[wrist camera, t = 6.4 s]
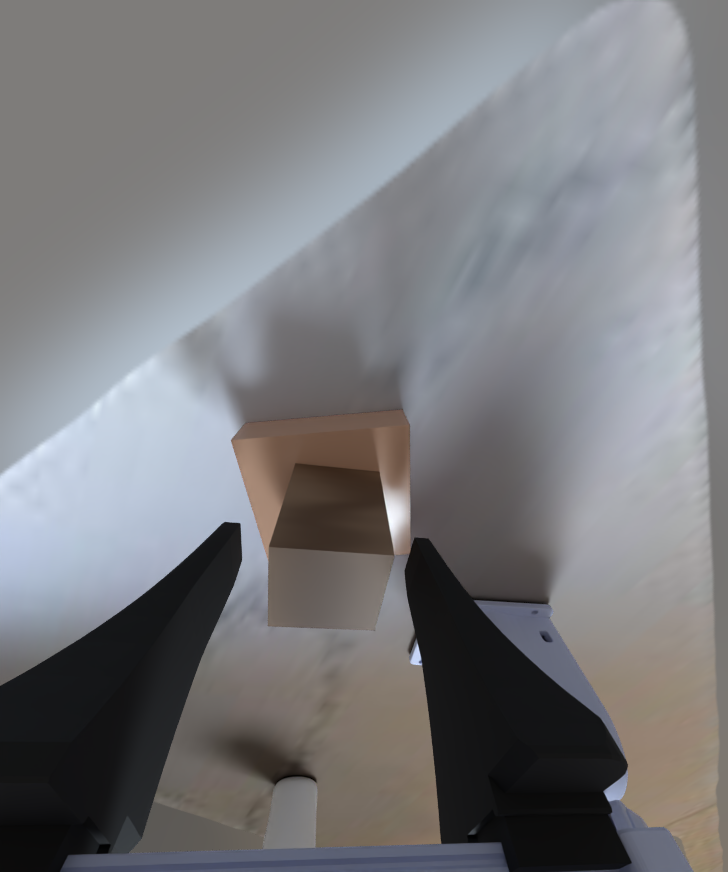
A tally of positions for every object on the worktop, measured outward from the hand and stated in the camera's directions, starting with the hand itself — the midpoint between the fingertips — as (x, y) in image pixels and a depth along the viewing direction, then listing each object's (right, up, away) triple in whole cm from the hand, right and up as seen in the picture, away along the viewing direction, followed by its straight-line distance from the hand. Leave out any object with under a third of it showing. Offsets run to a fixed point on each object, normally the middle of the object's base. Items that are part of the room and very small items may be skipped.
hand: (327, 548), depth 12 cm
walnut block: (0, +1, +2) cm, 3 cm away
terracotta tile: (0, +2, +5) cm, 5 cm away
